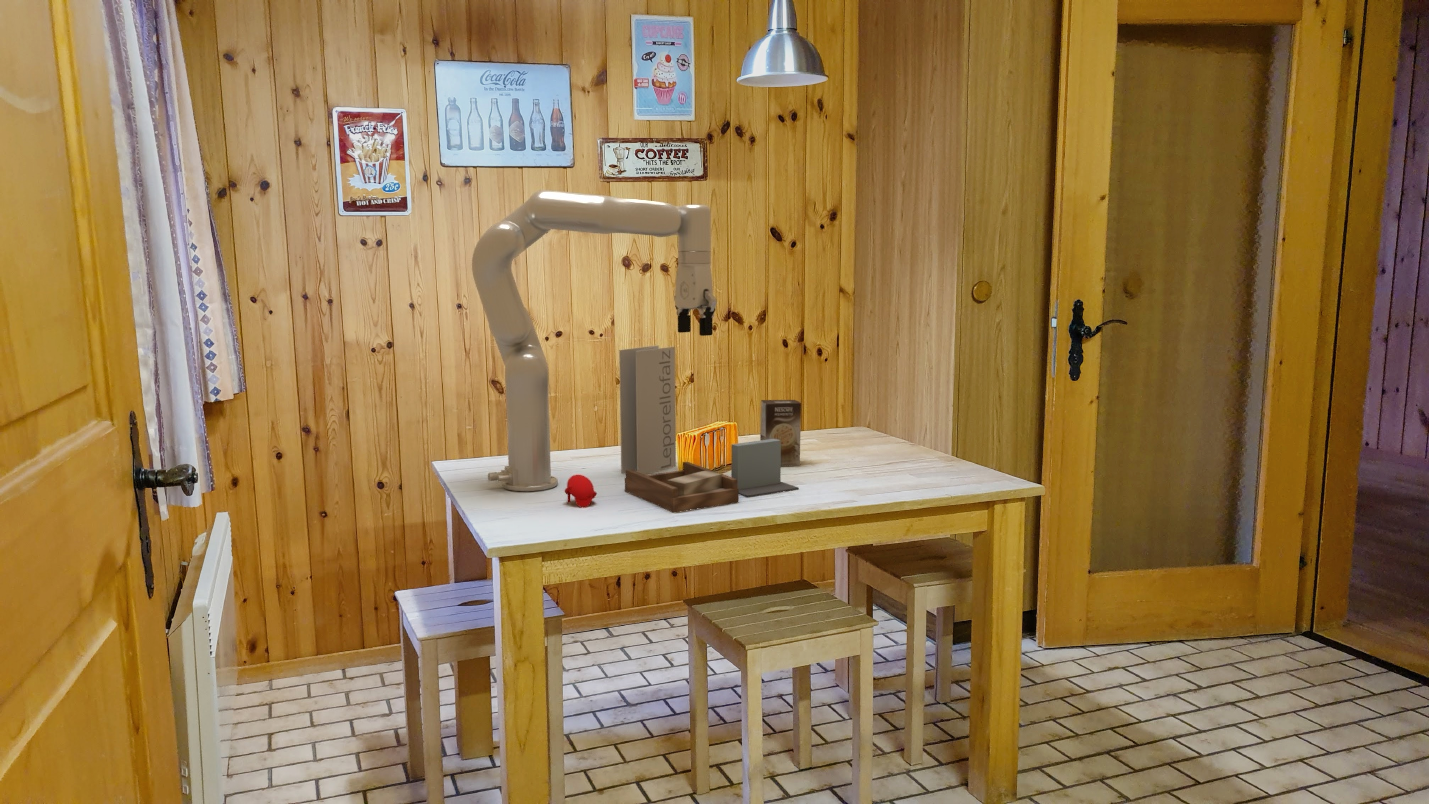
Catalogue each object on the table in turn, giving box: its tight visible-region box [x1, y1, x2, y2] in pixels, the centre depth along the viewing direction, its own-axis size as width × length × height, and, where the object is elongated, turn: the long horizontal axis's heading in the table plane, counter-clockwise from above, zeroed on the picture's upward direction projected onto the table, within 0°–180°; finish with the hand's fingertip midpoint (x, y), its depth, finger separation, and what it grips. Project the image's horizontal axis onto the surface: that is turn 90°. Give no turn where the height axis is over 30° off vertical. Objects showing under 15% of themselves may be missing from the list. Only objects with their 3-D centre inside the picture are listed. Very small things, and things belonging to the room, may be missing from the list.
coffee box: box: [759, 399, 802, 467], centre depth 258 cm, size 9×6×16 cm
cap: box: [564, 474, 597, 508], centre depth 221 cm, size 8×6×6 cm
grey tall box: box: [618, 344, 677, 475], centre depth 251 cm, size 14×6×30 cm, turn 143°
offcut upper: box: [667, 471, 723, 496], centre depth 221 cm, size 12×5×3 cm, turn 139°
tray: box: [624, 461, 740, 513], centre depth 226 cm, size 16×22×5 cm
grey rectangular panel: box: [730, 439, 782, 490], centre depth 234 cm, size 12×2×10 cm, turn 123°
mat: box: [739, 481, 799, 498], centre depth 235 cm, size 14×14×1 cm
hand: (694, 333), depth 239 cm, fingers open, 9 cm apart
